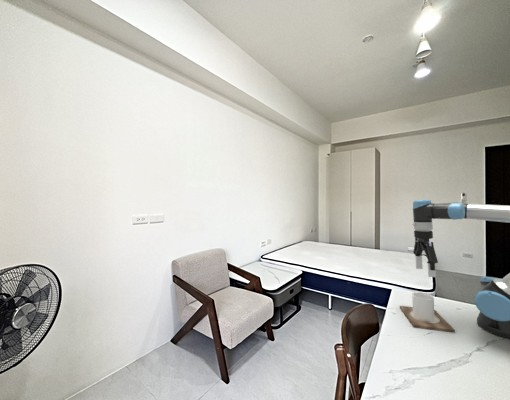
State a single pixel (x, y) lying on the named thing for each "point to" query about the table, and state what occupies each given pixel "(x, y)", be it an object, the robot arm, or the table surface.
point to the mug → (423, 306)
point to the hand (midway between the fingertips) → (425, 272)
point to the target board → (432, 325)
